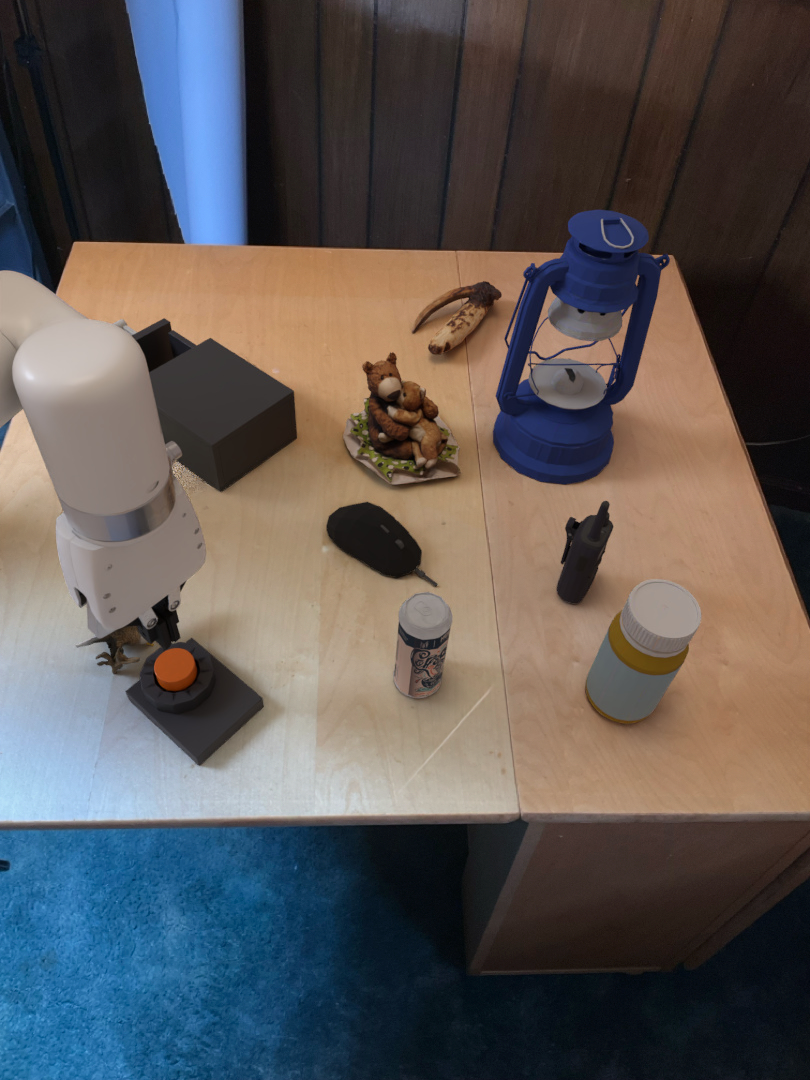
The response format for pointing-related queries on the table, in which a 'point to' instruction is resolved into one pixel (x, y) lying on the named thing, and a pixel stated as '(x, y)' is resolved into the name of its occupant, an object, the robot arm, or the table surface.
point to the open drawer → (158, 342)
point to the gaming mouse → (375, 539)
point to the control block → (196, 703)
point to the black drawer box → (222, 412)
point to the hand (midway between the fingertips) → (161, 634)
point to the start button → (175, 669)
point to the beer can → (421, 644)
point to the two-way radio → (583, 554)
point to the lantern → (585, 314)
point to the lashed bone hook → (459, 314)
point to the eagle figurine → (117, 646)
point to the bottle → (642, 650)
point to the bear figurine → (400, 430)
